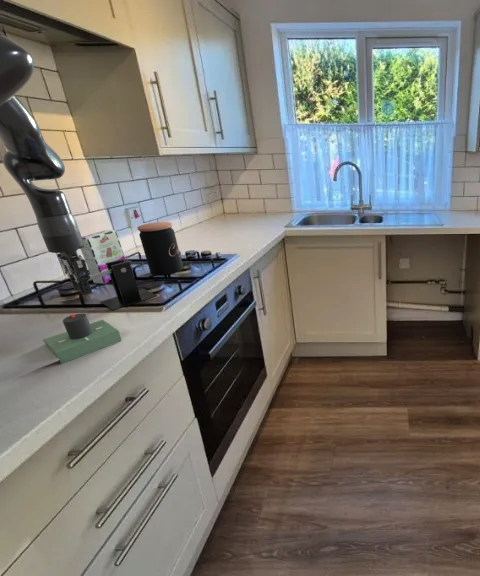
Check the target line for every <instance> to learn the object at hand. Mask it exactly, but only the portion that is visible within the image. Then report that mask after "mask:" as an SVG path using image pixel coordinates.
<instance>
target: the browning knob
mask: <svg viewBox="0 0 480 576" xmlns="http://www.w3.org/2000/svg"><path fill="white" fill-rule="evenodd" d="M62 323H63V325H64V329H65V330H66V331H65V332H67V333H68V335H69V338H70V339H79V338H83V337H86V336H88V335H90V334H91V333H92V332H93V331H92V328H91V326H90V324H91V323H90V321H89V318H88V316H87V314H86V313H75V314H73V313H71V314H69V316H66V317H65V318H63V319H62Z"/></svg>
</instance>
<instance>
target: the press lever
mask: <svg viewBox="0 0 480 576" xmlns="http://www.w3.org/2000/svg"><path fill="white" fill-rule="evenodd" d="M121 263H122V262H121ZM118 264H119V263H118ZM114 265H115V264H114ZM111 273H113V270H112V269H109V270H106V271H103V272H100V273H97V274H94V275H90V274H89V276H90V279H89V280H88V282H89V281H93V279H96V278H99V277H102V276H105V275H108V274H111ZM73 281H74V282H75V283H77V282H76V279H75V278H74V279H73ZM77 284H78V283H77Z"/></svg>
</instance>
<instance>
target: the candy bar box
mask: <svg viewBox="0 0 480 576" xmlns="http://www.w3.org/2000/svg"><path fill="white" fill-rule="evenodd" d="M81 237H82V239H83V242H84V247H83V248H81V249H80V251H81V254H82V256H83V257H82V258H83V259H84V260H85V263H86V266H87V270H88V273H89V276H90V275H94V274H97V273H100V272H103V271H106V270H108V269H107V266H106V263H108V262H112V261H116V260H121V259H123V260H124V262H127V260H126V256H125V254H124V251H123V248H122V244H121V242H120V239H119V236H118V233H117V230H116V229H115V230H114V229H105V230H101V231H98V232H93V233H91V234H88V235H83V236H81ZM109 280H111V277H110V274H108V275H105V276H102V277H99V278H96V279H93V280H92V282H93V284H95V285H96V284H98V285H105V284H108V283H110V282H109Z"/></svg>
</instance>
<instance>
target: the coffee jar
mask: <svg viewBox="0 0 480 576" xmlns="http://www.w3.org/2000/svg"><path fill="white" fill-rule="evenodd" d="M136 229H137V230H138V231H139V234H138V236H139V240H140V243H141V246H142V250H143V252H144V256H145V258H146V263H147V267H148V269H149V273H150V275H152V276H156V277H157V276H160V277H162V276H169V275H173V274H176V273H179V272H182V271H183V269H184V263H183V260H182V257H181V252H180V248H179V244H178V241H177V237H176V233H175V229H173V223H172V222H171V221H157V222H149V223H144V224H140V225H139V226H138V225H137V228H136Z"/></svg>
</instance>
